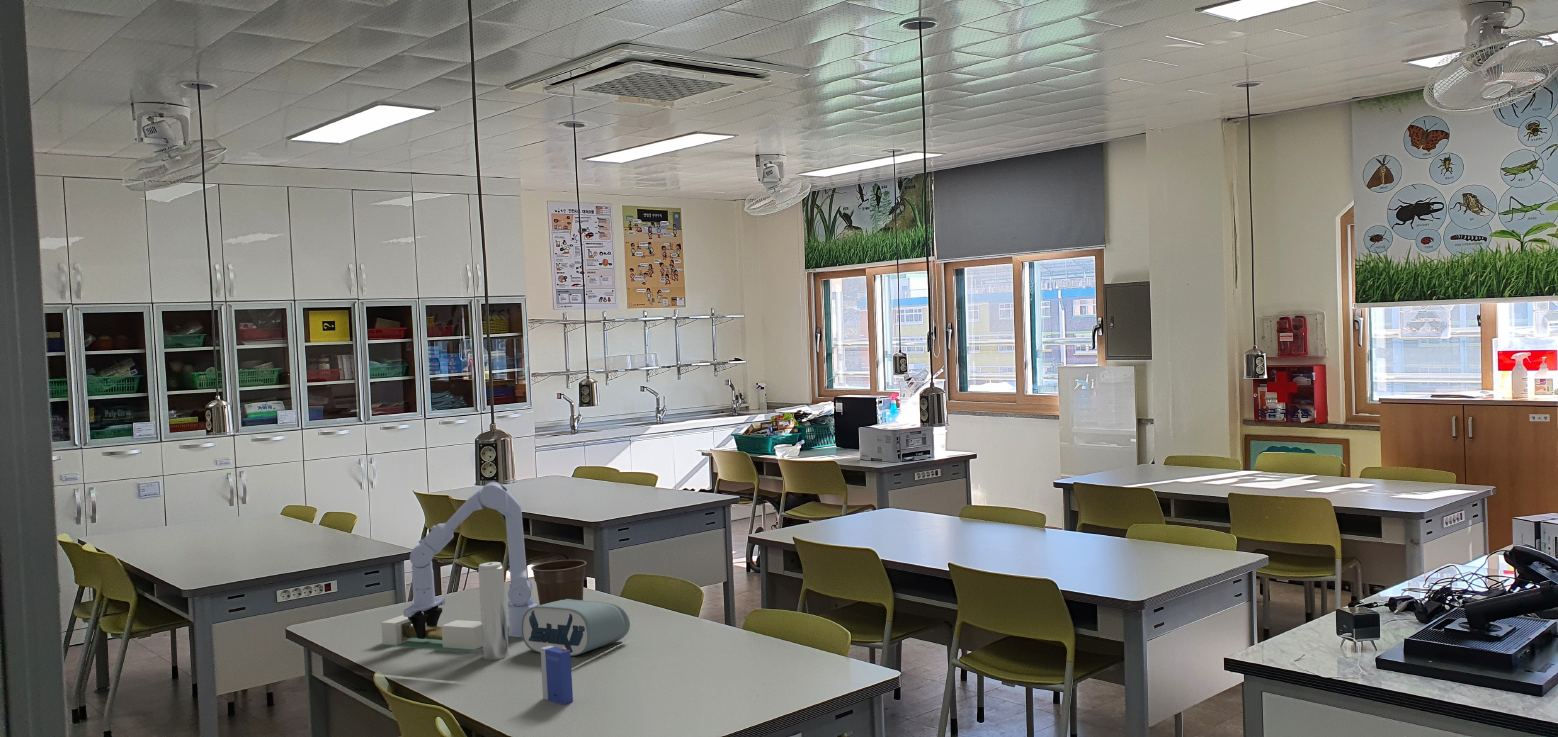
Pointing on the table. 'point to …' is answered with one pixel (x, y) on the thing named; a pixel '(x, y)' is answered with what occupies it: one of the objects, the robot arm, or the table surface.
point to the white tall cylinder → (493, 610)
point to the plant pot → (559, 580)
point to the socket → (394, 630)
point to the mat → (427, 645)
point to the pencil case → (574, 625)
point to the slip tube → (430, 632)
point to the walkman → (556, 674)
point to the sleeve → (462, 634)
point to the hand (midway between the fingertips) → (426, 636)
